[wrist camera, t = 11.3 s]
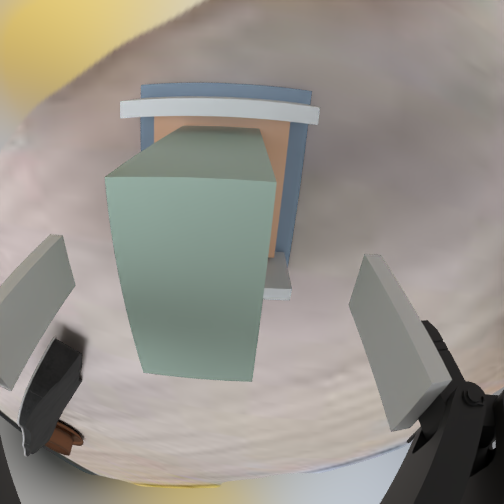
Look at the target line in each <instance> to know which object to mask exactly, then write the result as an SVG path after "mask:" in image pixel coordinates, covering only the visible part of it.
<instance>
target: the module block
mask: <svg viewBox="0 0 504 504" xmlns="http://www.w3.org/2000/svg"><path fill="white" fill-rule="evenodd" d="M276 184H277V182H276V178H275V175H274V172H273V169H272V166H271V163H270V160H269V157H268V153H267V150H266V147H265V144H264V141H263V138H262V135H261V132H260V129H258V128H244V127H224V126H182V127H180V128H178V129H177V130H175V131H173V132H172V133H170V134H168V135H167V136H165V137H163V138H162V139H160V140H159V141H157V142H155V143H154V144H152V145H151V146H149V147H148V148H146V149H145V150H143V151H141V152H140V153H138V154H137V155H135V156H134V157H133V158H131V159H130V160H128V161H127V162H125V163H124V164H122V165H121V166H120V167H118V168H117V169H115V170H114V171H113V172H111V173H110V174H108V175H107V176H106V177H105V185H106V195H107V204H108V212H109V220H110V227H111V234H112V240H113V246H114V252H115V258H116V263H117V269H118V274H119V279H120V284H121V288H122V293H123V298H124V302H125V306H126V311H127V315H128V319H129V323H130V327H131V331H132V334H133V338H134V342H135V345H136V349H137V352H138V356H139V359H140V363H141V366H142V369H143V372H144V373H151V374H158V375H167V376H176V377H185V378H196V379H209V380H225V381H248V382H252V378H253V370H254V363H255V356H256V348H257V341H258V333H259V325H260V318H261V310H262V302H263V294H264V286H265V278H266V270H267V262H268V254H269V245H270V237H271V228H272V220H273V211H274V202H275V193H276Z"/></svg>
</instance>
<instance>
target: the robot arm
mask: <svg viewBox="0 0 504 504" xmlns="http://www.w3.org/2000/svg"><path fill="white" fill-rule="evenodd" d="M74 287H75V282H74V278H73V275H72V271H71V267H70V263H69V260H68V256H67V252H66V247H65V243H64V239H63V235H51V234H50V235H49V236H48V237H47V238H46V239H45V240H44V241H43V242H42V243H41V244H40V245H39V246H38V247H37V248H36V249H35V250H34V251H33V252H32V253H31V254H30V255H29V256H28V257H27V258H26V259H25V260H24V261H23V262H22V263H21V264H20V265H19V266H18V267H17V268H16V269H15V270H14V271H13V273H12V274H11V275H10V276H9V277H8V278H7V279H6V280H5V281H4V283H3V284H2V285H1V286H0V387H3V388H5V389H7V390H9V391H12V389H13V387H14V385H15V383H16V381H17V380H18V378H19V376H20V374H21V372H22V370H23V368H24V367H25V365H26V363H27V361H28V359H29V358H30V356H31V354H32V352H33V351H34V349H35V347H36V346H37V344H38V342H39V340H40V339H41V337H42V336H43V334H44V332H45V331H46V329H47V327H48V326H49V324H50V323H51V321H52V320H53V318H54V316H55V315H56V313H57V312H58V310H59V309H60V307H61V306H62V304H63V303H64V301H65V300H66V298H67V297H68V295H69V294H70V293H71V291H72V290H73V288H74ZM349 307H350V310H351V313H352V315H353V318H354V321H355V323H356V326H357V329H358V332H359V334H360V337H361V340H362V343H363V345H364V348H365V351H366V354H367V357H368V360H369V363H370V366H371V369H372V372H373V375H374V378H375V381H376V384H377V387H378V390H379V393H380V396H381V400H382V403H383V406H384V409H385V413H386V416H387V419H388V423H389V426H390V430H391V432H392V431H397V430H402V429H407V428H410V427H411V426H412V425H413V424H414V423H415V422H416V421H417V420H418V419H419V422H420V425H421V427H420V428H419V429H418V430H417V431H416V432H415V433H414V434H413V435H412V436H411V437H410V438H409V439H408V440H407V442H408V443H409V442H411V441H412V440H413V442H412V444H411V446H410V449H409V450H408V453H407V455H406V457H405V459H404V461H403V463H402V465H401V467H400V469H399V471H398V473H397V475H396V476H395V478H394V480H393V482H392V484H391V486H390V487H389V489H388V491H387V493H386V494H385V496H384V498H383V499H382V501H381V503H380V504H504V390H503V391H502V393H501V394H500V395H499V396H498V395H487V394H484V392H483V390H482V389H481V388H480V387H479V386H478V385H476V384H475V383H472V382H469V381H468V382H466V381H465V380H464V378H463V376H462V374H461V372H460V370H459V368H458V366H457V364H456V363H455V361H454V359H453V357H452V355H451V353H450V351H448V348H447V346H446V344H445V342H443V339H442V337H441V335H440V334H439V332H438V330H437V329H436V328H435V327H434V326H433V325H432V324H431V323H430V322H429V321H428V320H426V321H421V320H420V318H419V316H418V315H417V313H416V311H415V309H414V308H413V306H412V304H411V303H410V301H409V299H408V298H407V296H406V294H405V293H404V291H403V290H402V288H401V286H400V285H399V283H398V281H397V280H396V278H395V277H394V275H393V274H392V272H391V270H390V269H389V267H388V266H387V264H386V263H385V261H384V260H383V258H382V257H381V255H372V254H364V258H363V261H362V265H361V268H360V271H359V274H358V278H357V281H356V284H355V287H354V290H353V293H352V296H351V299H350V302H349ZM495 440H496V448H495V449H493V448H492V443H493V442H494V441H495ZM0 504H21V502H20V499H19V497H18V494H17V491H16V489H15V486H14V483H13V480H12V477H11V474H10V470H9V467H8V464H7V460H6V457H5V453H4V449H3V445H2V441H1V437H0Z"/></svg>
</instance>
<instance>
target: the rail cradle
mask: <svg viewBox="0 0 504 504" xmlns="http://www.w3.org/2000/svg"><path fill="white" fill-rule="evenodd" d="M311 94H312V91H307V90H300V89H292V88H283V87H274V86H263V85H249V84H231V83H165V84H148V85H141V99H133V100H126V101H120V118H132V117H141V151H143V150H145V149H146V148H148V147H149V146H151V145H152V144H154V116H221V117H242V118H257V119H269V120H279V121H289V122H290V130H289V139H288V148H287V157H286V166H285V174H284V183H283V191H282V199H281V208H280V216H279V224H278V231H277V239H276V247H275V255H274V258H269V257H268V262H267V270H266V278H265V286H264V294H263V299H268V300H290V296H291V291H292V287H291V282H290V278H289V273H288V263H289V257H290V250H291V244H292V238H293V231H294V225H295V218H296V211H297V205H298V198H299V191H300V183H301V176H302V169H303V161H304V153H305V146H306V138H307V129H308V124H313V125H318V120H319V112H320V108H319V107H315V106H311V105H310V103H311Z"/></svg>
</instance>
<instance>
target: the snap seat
mask: <svg viewBox="0 0 504 504" xmlns="http://www.w3.org/2000/svg"><path fill="white" fill-rule="evenodd" d="M182 126H224V127H244V128H258V129H260V132H261V135H262V138H263V141H264V144H265V147H266V150H267V153H268V157H269V160H270V163H271V166H272V169H273V172H274V175H275V178H276V182H277V184H276V193H275V202H274V211H273V220H272V228H271V237H270V245H269V254H268V257H269V258H274V255H275V247H276V239H277V231H278V224H279V216H280V208H281V199H282V191H283V183H284V174H285V166H286V157H287V148H288V139H289V130H290V122H289V121H279V120H269V119H257V118H242V117H221V116H154V143H155V142H157V141H159V140H160V139H162V138H163V137H165V136H167V135H168V134H170V133H172V132H173V131H175V130H177V129H178V128H180V127H182Z"/></svg>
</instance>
